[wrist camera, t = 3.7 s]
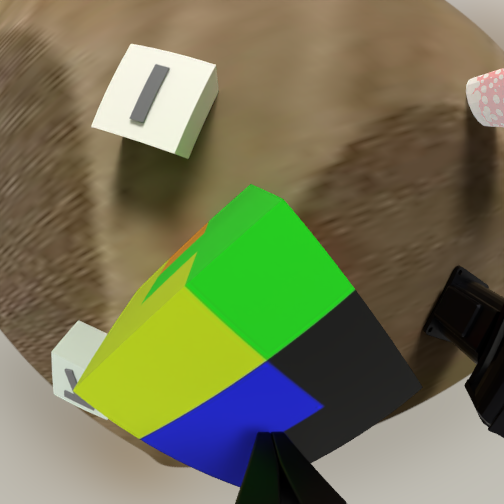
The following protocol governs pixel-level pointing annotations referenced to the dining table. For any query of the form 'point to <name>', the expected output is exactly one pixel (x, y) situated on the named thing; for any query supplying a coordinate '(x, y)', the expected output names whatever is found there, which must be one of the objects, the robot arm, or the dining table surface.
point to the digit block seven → (75, 362)
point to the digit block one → (158, 99)
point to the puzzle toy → (246, 347)
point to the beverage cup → (487, 98)
